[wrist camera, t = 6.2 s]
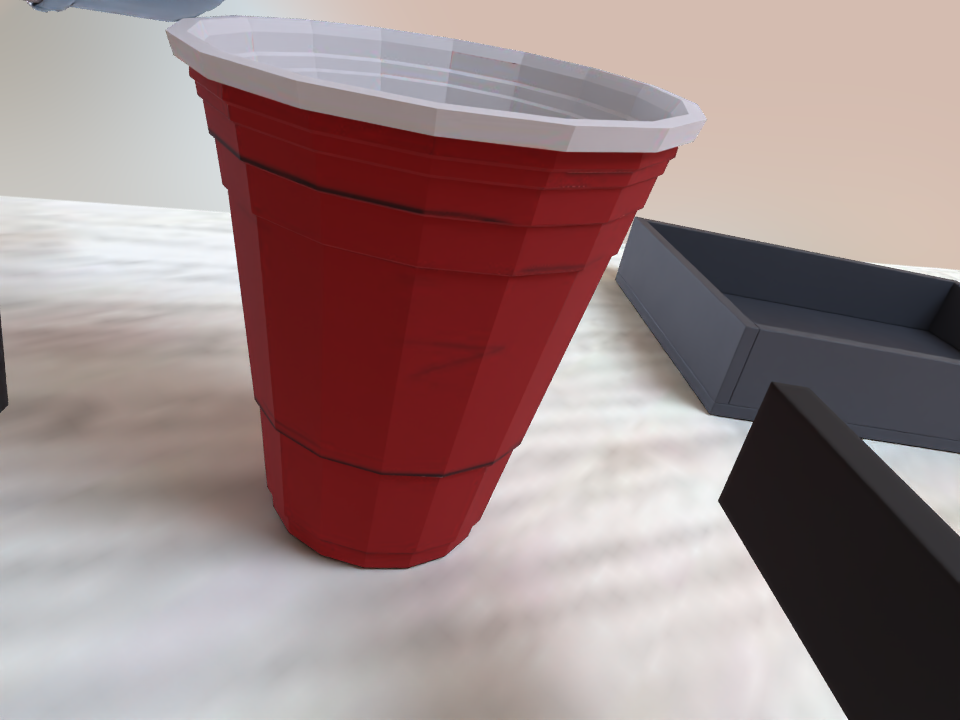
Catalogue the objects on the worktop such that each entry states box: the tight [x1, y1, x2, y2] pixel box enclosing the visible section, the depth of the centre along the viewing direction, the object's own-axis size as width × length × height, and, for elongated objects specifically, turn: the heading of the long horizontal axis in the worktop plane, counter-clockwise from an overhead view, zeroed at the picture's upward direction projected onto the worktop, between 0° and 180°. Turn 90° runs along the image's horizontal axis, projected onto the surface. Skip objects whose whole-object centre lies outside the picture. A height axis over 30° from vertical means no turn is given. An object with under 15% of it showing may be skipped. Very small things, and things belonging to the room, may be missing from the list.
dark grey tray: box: [615, 217, 960, 453], centre depth 37 cm, size 22×16×4 cm
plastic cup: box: [165, 15, 707, 568], centre depth 17 cm, size 11×11×12 cm
